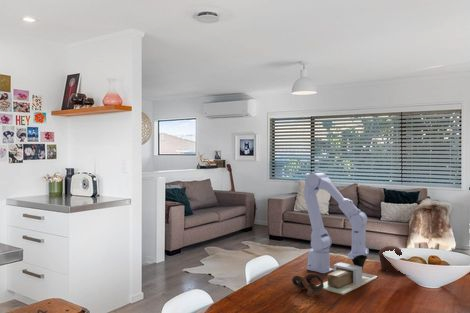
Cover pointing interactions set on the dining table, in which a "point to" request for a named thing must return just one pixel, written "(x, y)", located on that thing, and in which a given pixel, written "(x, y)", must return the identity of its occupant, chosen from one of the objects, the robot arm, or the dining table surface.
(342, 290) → the tunnel
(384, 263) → the muffin
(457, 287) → the dining table surface
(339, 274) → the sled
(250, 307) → the dining table surface
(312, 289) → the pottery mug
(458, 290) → the dining table surface
